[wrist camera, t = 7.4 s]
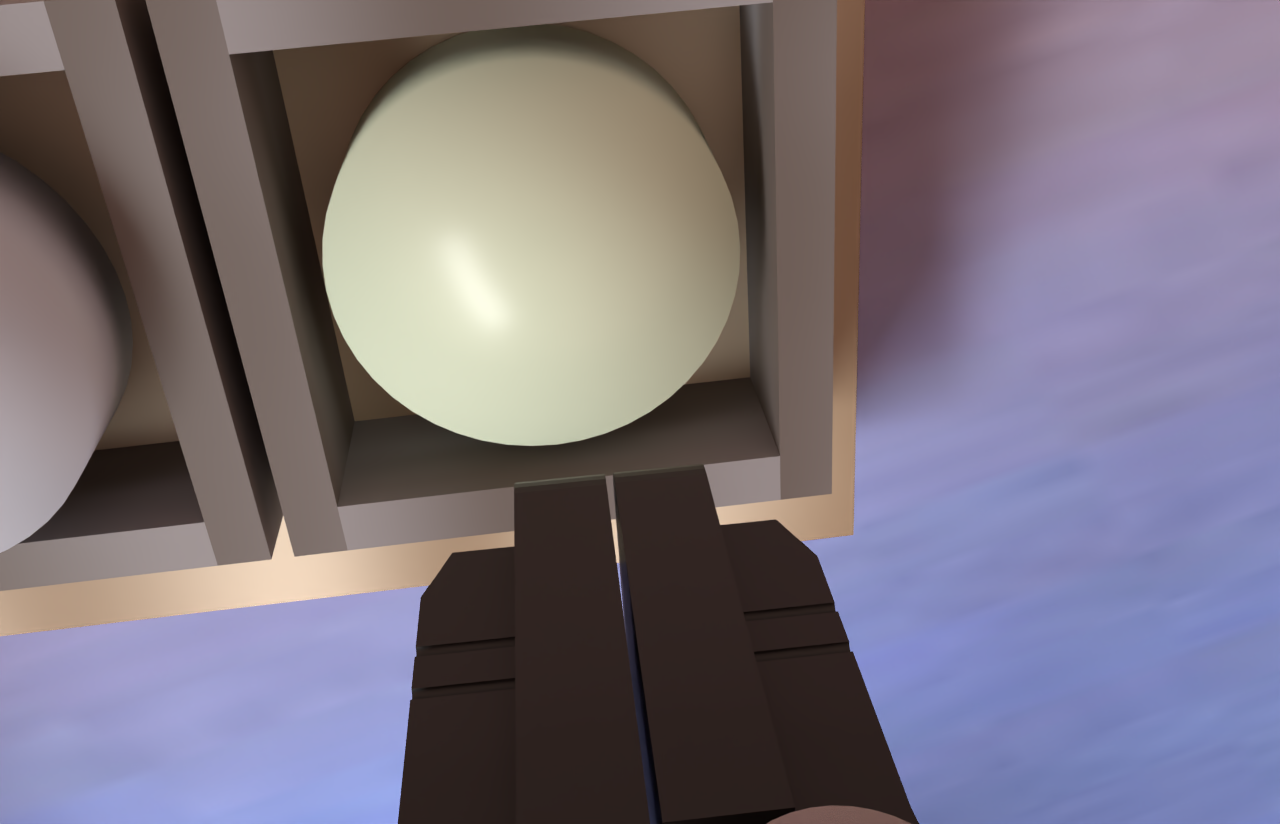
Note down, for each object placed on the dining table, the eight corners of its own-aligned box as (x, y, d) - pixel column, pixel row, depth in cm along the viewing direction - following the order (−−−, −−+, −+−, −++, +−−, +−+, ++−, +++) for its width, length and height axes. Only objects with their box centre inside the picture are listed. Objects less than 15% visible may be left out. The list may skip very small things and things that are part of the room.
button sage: (709, 3, 15) (733, 37, 14) (723, 360, 18) (746, 423, 16) (303, 43, 15) (280, 81, 13) (376, 398, 17) (364, 465, 16)
